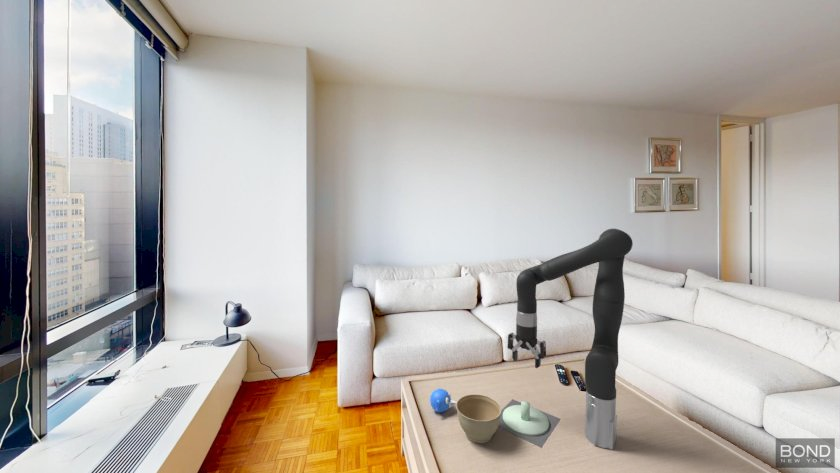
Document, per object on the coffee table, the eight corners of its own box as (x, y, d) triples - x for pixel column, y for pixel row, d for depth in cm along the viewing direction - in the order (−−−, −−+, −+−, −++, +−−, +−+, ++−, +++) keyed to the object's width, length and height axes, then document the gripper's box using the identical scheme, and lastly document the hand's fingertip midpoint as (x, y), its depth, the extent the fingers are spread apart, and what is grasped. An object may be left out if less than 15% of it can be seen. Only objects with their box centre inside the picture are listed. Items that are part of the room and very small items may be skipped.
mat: (560, 419, 123) (560, 418, 123) (541, 448, 108) (541, 447, 108) (512, 400, 137) (512, 399, 137) (489, 423, 122) (489, 422, 122)
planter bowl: (506, 451, 108) (506, 420, 107) (458, 451, 108) (458, 420, 107) (495, 420, 124) (495, 393, 123) (454, 420, 124) (454, 393, 123)
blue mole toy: (455, 422, 122) (455, 402, 122) (426, 416, 126) (426, 396, 126) (461, 404, 134) (461, 385, 133) (434, 400, 138) (434, 381, 137)
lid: (555, 419, 123) (555, 402, 123) (538, 443, 111) (538, 424, 110) (514, 402, 135) (514, 386, 134) (494, 422, 122) (494, 404, 121)
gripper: (549, 324, 118) (548, 366, 119) (513, 316, 127) (512, 355, 128) (541, 330, 112) (540, 373, 113) (504, 321, 122) (504, 361, 123)
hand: (526, 363), depth 121 cm, fingers open, 8 cm apart
